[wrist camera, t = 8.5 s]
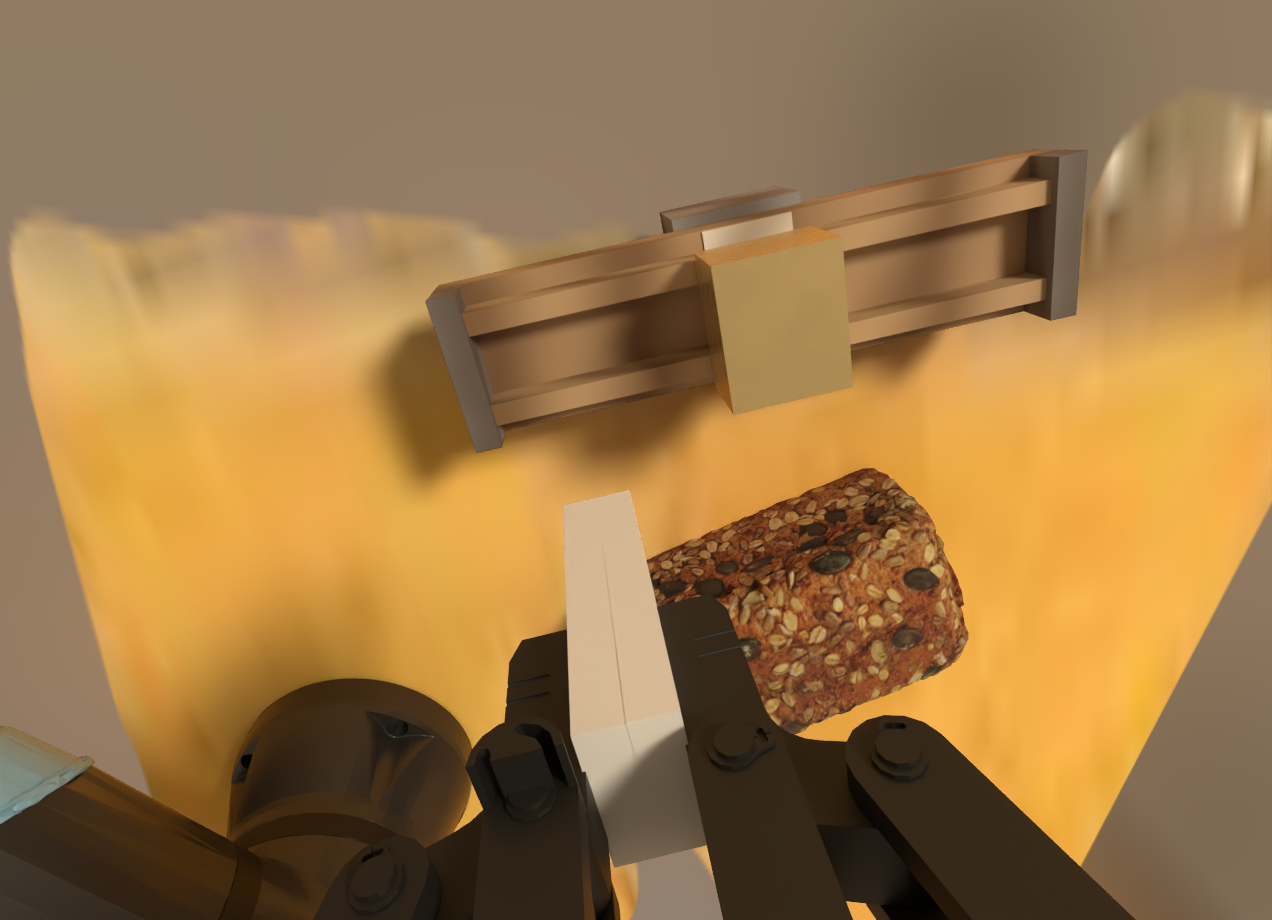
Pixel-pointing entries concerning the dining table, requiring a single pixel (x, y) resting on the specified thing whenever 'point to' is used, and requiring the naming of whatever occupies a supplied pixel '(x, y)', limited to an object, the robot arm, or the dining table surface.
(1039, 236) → the beam
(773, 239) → the block
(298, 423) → the dining table surface
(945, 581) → the bread
